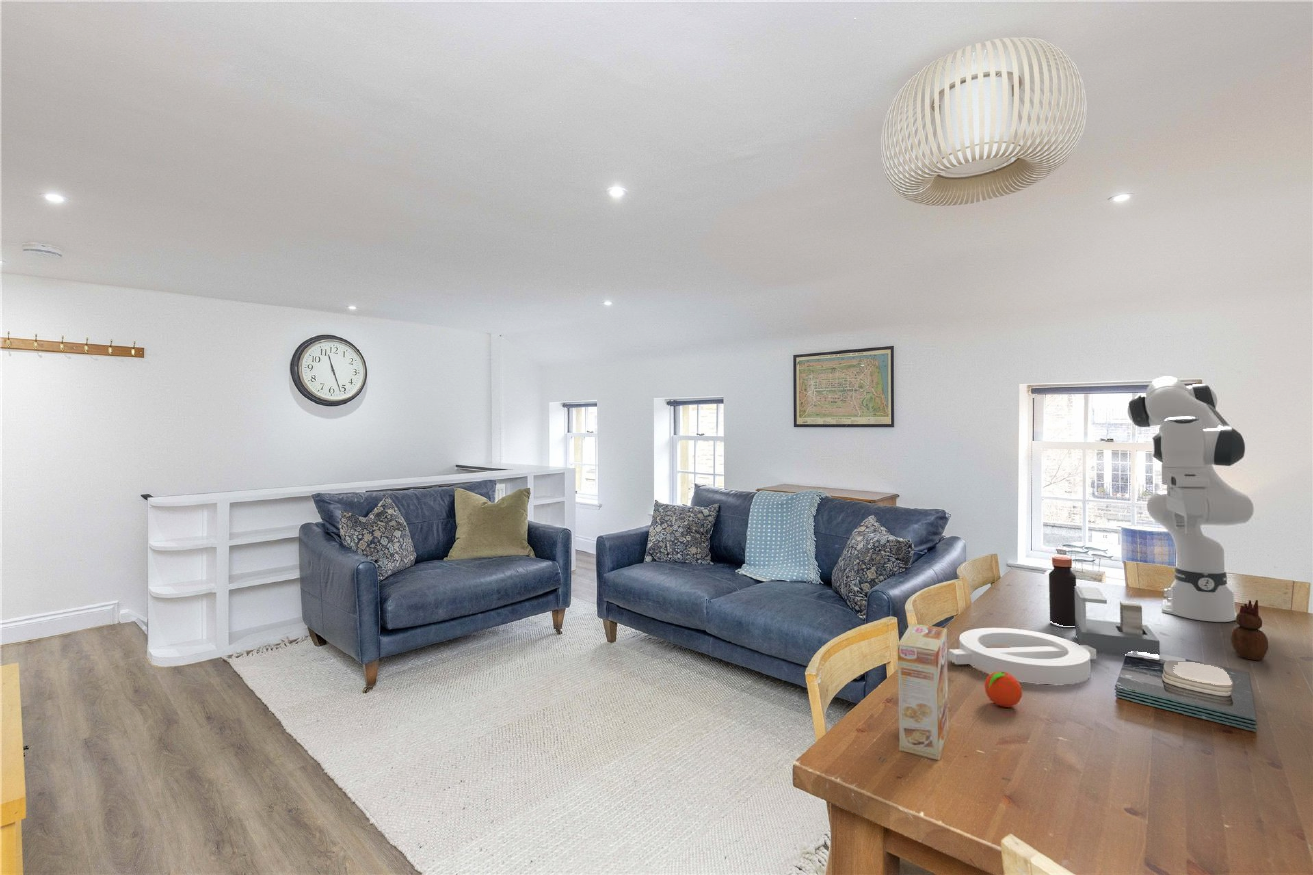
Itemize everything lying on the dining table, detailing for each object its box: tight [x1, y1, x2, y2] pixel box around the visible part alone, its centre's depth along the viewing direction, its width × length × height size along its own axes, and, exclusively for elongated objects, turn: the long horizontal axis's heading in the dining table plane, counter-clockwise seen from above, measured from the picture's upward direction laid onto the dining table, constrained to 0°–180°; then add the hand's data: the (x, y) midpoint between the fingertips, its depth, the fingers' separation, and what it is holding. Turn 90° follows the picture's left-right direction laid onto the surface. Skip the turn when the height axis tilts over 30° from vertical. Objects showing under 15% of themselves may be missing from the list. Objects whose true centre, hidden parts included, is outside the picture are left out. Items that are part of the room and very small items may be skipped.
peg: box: [1119, 600, 1143, 635], centre depth 160 cm, size 4×4×12 cm
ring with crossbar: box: [947, 627, 1097, 686], centre depth 152 cm, size 28×28×5 cm
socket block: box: [1074, 585, 1161, 657], centre depth 161 cm, size 14×16×14 cm
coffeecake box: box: [897, 623, 949, 761], centre depth 115 cm, size 15×7×20 cm, turn 148°
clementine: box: [984, 672, 1023, 708], centre depth 128 cm, size 8×7×7 cm
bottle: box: [1048, 556, 1077, 626], centre depth 181 cm, size 7×7×20 cm
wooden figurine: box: [1230, 599, 1269, 661], centre depth 152 cm, size 7×6×15 cm
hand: (1185, 531), depth 158 cm, fingers open, 8 cm apart
